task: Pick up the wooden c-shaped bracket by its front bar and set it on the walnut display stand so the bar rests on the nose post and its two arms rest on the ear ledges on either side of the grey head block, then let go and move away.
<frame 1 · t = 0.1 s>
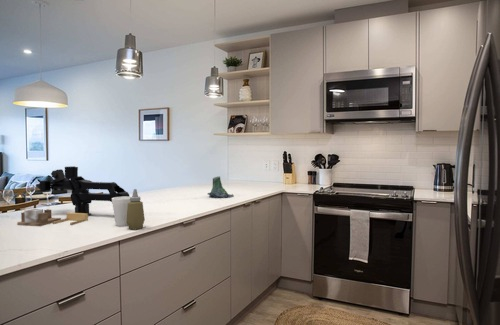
hand: (42, 184, 189), 17 cm above the countertop, tool horizontal, fingers open, 9 cm apart
wooden c-shaped bracket: (77, 220, 172), on the countertop
foam cup: (122, 225, 161), on the countertop
squeeze bottle: (135, 228, 154), on the countertop
tree stump: (220, 197, 255), on the countertop
display stand: (39, 222, 166), on the countertop
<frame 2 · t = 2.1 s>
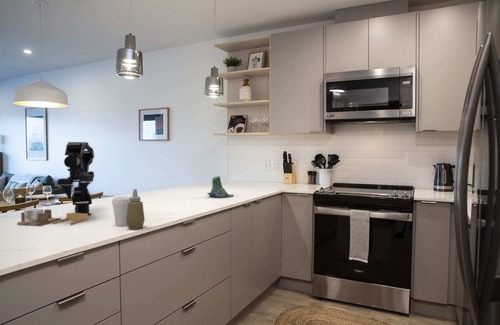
hand: (76, 197, 171), 12 cm above the countertop, tool pointing down, fingers open, 9 cm apart
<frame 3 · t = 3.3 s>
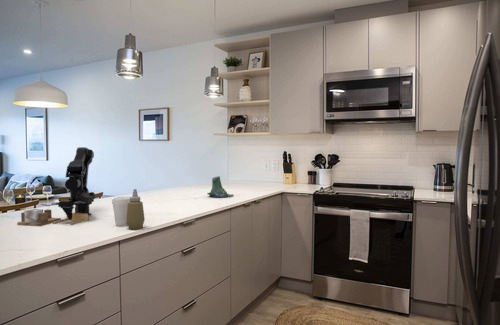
hand: (77, 218, 172), 1 cm above the countertop, tool pointing down, fingers open, 9 cm apart
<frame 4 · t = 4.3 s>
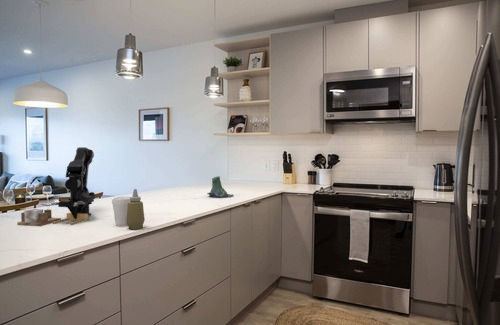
hand: (77, 218, 172), 1 cm above the countertop, tool pointing down, fingers closed on wooden c-shaped bracket, 2 cm apart
wooden c-shaped bracket: (77, 220, 172), on the countertop, touching gripper
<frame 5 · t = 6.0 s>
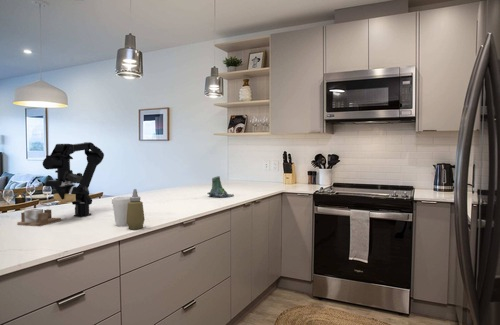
hand: (64, 198, 171), 11 cm above the countertop, tool pointing down, fingers closed on wooden c-shaped bracket
wooden c-shaped bracket: (64, 200, 171), point 10 cm above the countertop, touching gripper
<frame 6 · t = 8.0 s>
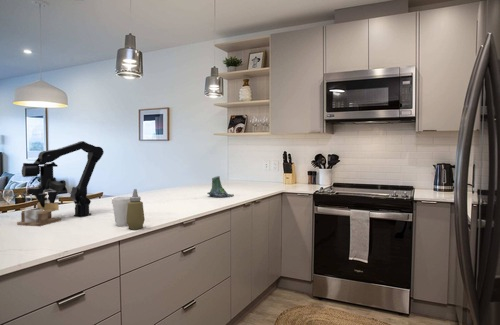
hand: (47, 206, 171), 7 cm above the countertop, tool pointing down, fingers open, 5 cm apart
wooden c-shaped bracket: (48, 209, 171), point 5 cm above the countertop, touching display stand
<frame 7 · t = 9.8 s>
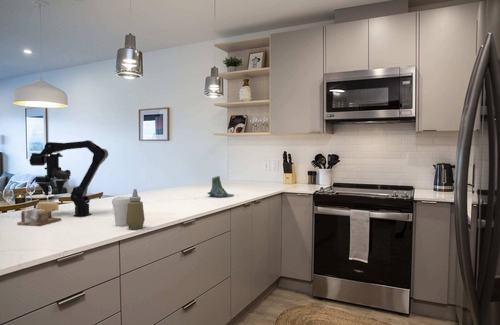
hand: (53, 194, 181), 12 cm above the countertop, tool pointing down, fingers open, 9 cm apart
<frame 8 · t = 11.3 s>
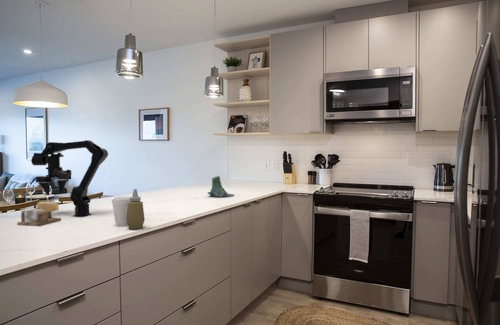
hand: (54, 193, 183), 12 cm above the countertop, tool pointing down, fingers open, 9 cm apart
at the end: wooden c-shaped bracket 0.1 cm from the target spot on the display stand, point 5.5 cm above the display stand's base; wooden c-shaped bracket tilted 0°; the gripper is holding nothing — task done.
